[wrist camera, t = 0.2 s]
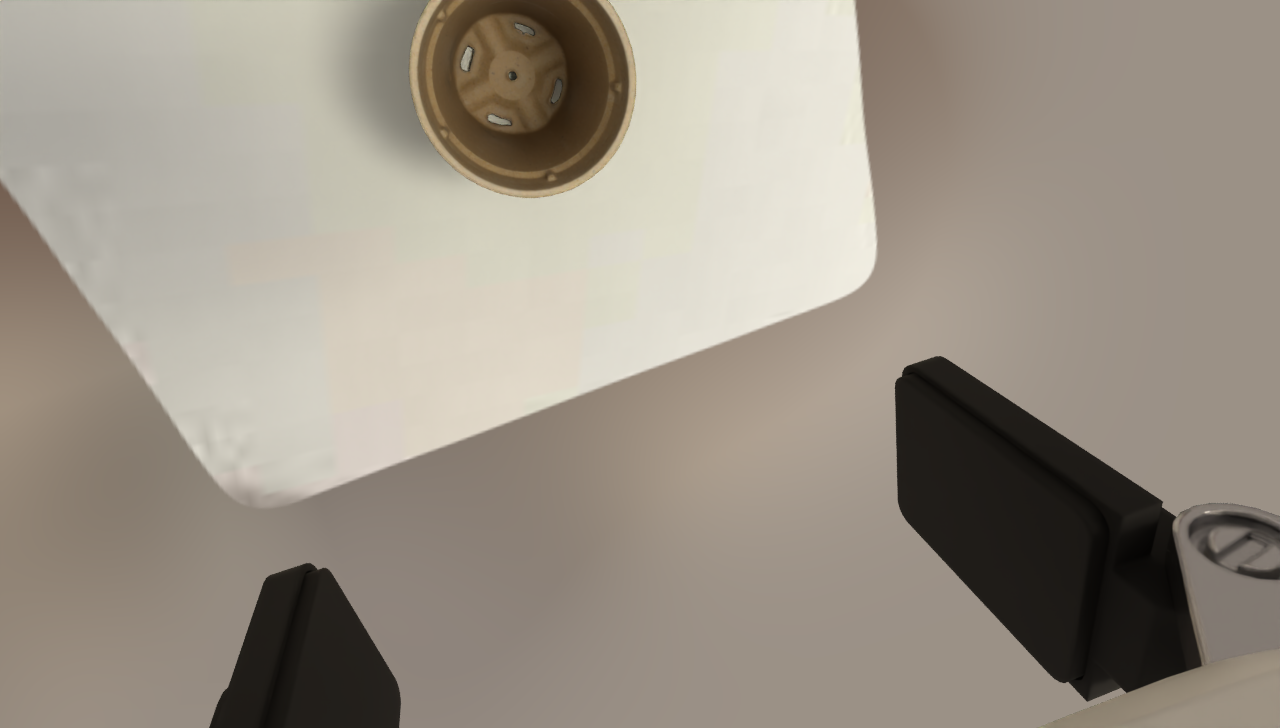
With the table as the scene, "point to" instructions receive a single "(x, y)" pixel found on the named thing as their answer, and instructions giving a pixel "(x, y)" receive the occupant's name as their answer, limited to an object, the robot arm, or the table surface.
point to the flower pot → (523, 90)
